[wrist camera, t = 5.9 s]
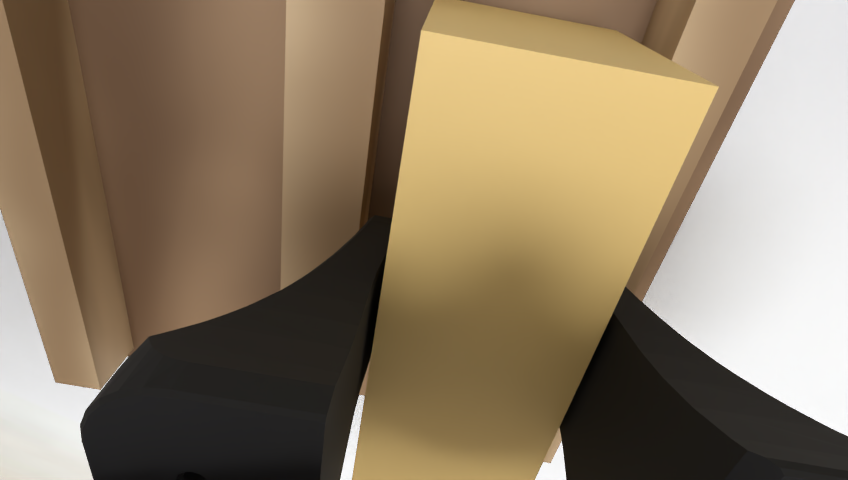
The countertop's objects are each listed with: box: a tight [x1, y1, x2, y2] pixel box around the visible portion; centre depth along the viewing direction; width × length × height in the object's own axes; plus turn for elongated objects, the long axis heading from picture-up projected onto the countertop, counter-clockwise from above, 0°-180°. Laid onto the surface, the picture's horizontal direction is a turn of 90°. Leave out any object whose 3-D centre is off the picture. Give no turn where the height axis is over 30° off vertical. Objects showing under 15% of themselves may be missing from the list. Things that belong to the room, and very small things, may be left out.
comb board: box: [0, 0, 795, 463], centre depth 14 cm, size 20×17×3 cm
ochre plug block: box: [352, 0, 719, 480], centre depth 12 cm, size 4×11×5 cm, turn 170°
